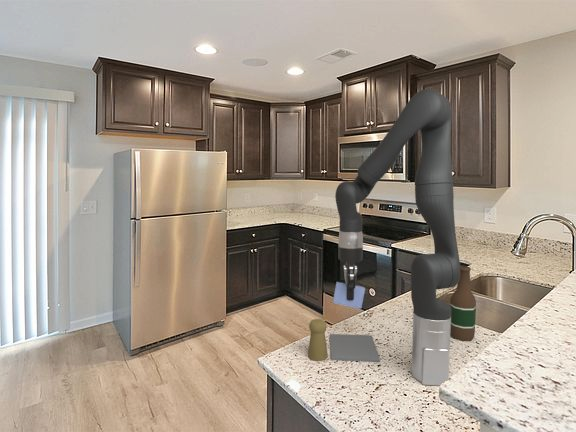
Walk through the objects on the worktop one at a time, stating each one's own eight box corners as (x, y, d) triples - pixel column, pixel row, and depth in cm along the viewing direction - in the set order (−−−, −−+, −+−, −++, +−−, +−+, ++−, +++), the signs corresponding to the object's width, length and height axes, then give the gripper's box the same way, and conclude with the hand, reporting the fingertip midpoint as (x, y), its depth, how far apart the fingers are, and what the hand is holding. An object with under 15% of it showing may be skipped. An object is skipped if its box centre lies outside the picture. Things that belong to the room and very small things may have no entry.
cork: (331, 355, 103) (332, 320, 102) (319, 363, 98) (319, 326, 97) (316, 349, 107) (316, 315, 106) (303, 356, 102) (303, 321, 101)
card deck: (361, 308, 108) (365, 289, 107) (333, 303, 109) (336, 283, 108) (360, 306, 110) (364, 287, 109) (332, 300, 111) (336, 281, 110)
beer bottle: (463, 343, 110) (466, 270, 107) (443, 333, 117) (446, 265, 114) (480, 339, 113) (483, 268, 110) (459, 329, 120) (462, 262, 117)
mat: (380, 362, 99) (380, 360, 99) (331, 359, 100) (331, 358, 100) (371, 337, 115) (371, 335, 115) (329, 335, 116) (329, 333, 116)
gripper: (365, 249, 100) (364, 306, 102) (360, 241, 114) (359, 292, 115) (339, 249, 101) (339, 306, 103) (337, 241, 114) (337, 291, 116)
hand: (349, 298), depth 109 cm, fingers closed on card deck, 1 cm apart
